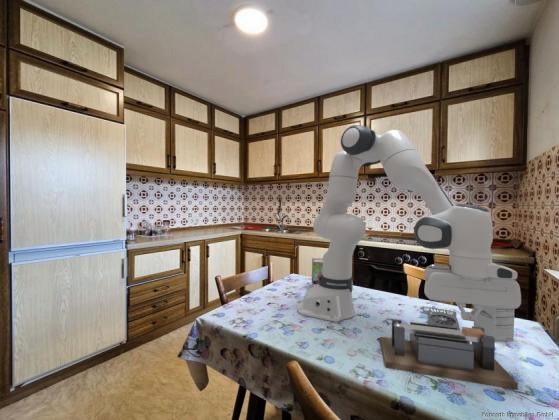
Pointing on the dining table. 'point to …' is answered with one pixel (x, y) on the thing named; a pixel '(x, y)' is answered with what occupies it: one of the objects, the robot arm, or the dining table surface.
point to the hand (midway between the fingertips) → (468, 319)
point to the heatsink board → (444, 372)
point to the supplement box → (497, 322)
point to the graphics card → (441, 317)
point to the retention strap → (444, 332)
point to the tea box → (316, 269)
